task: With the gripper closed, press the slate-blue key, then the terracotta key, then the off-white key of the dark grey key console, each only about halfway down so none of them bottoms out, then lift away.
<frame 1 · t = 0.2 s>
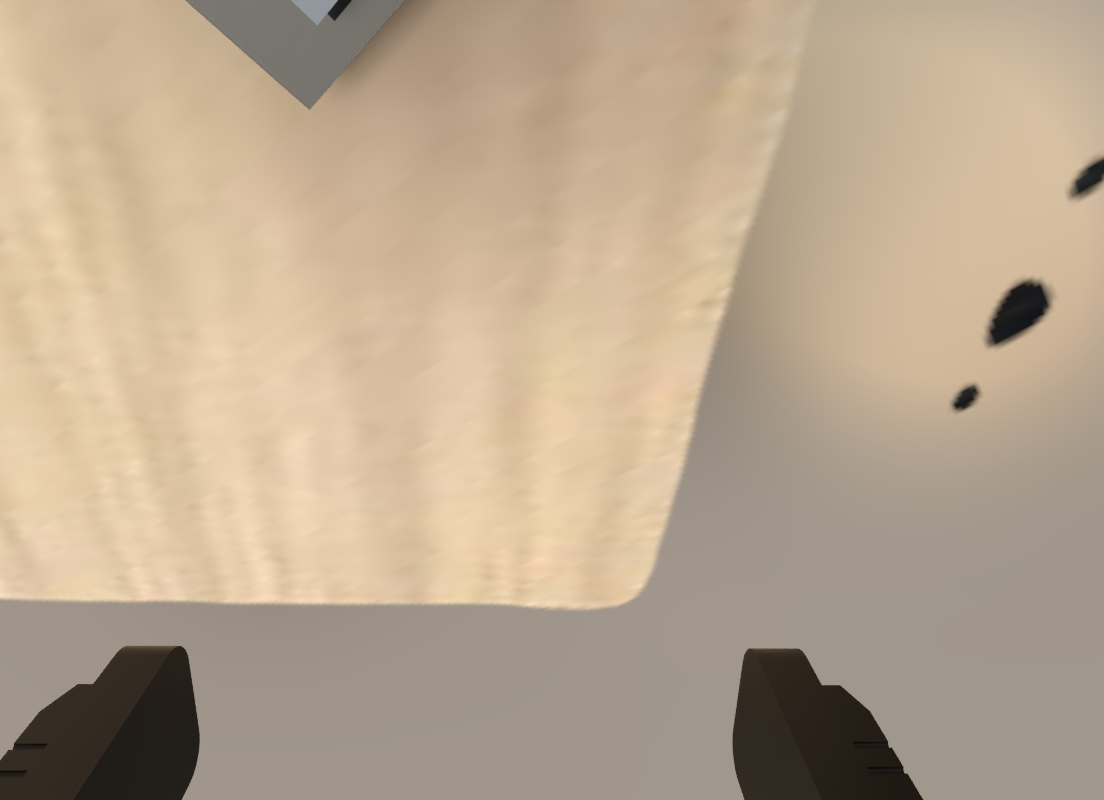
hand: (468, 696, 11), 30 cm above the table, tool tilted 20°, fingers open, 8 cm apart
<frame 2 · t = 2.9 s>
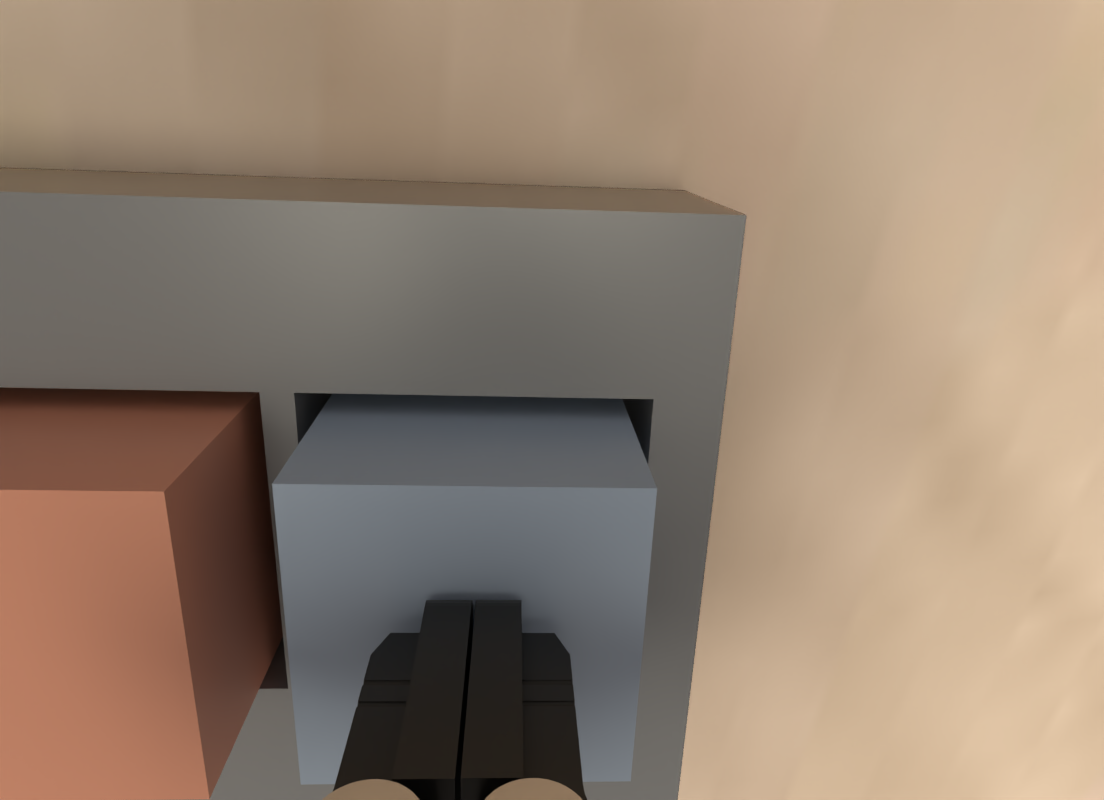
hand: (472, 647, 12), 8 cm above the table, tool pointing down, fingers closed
key terracotta: (75, 576, 14), point 6 cm above the table, slide at 0.0 cm
console: (202, 445, 19), on the table
key blue: (474, 570, 14), point 6 cm above the table, slide at 0.3 cm, touching gripper
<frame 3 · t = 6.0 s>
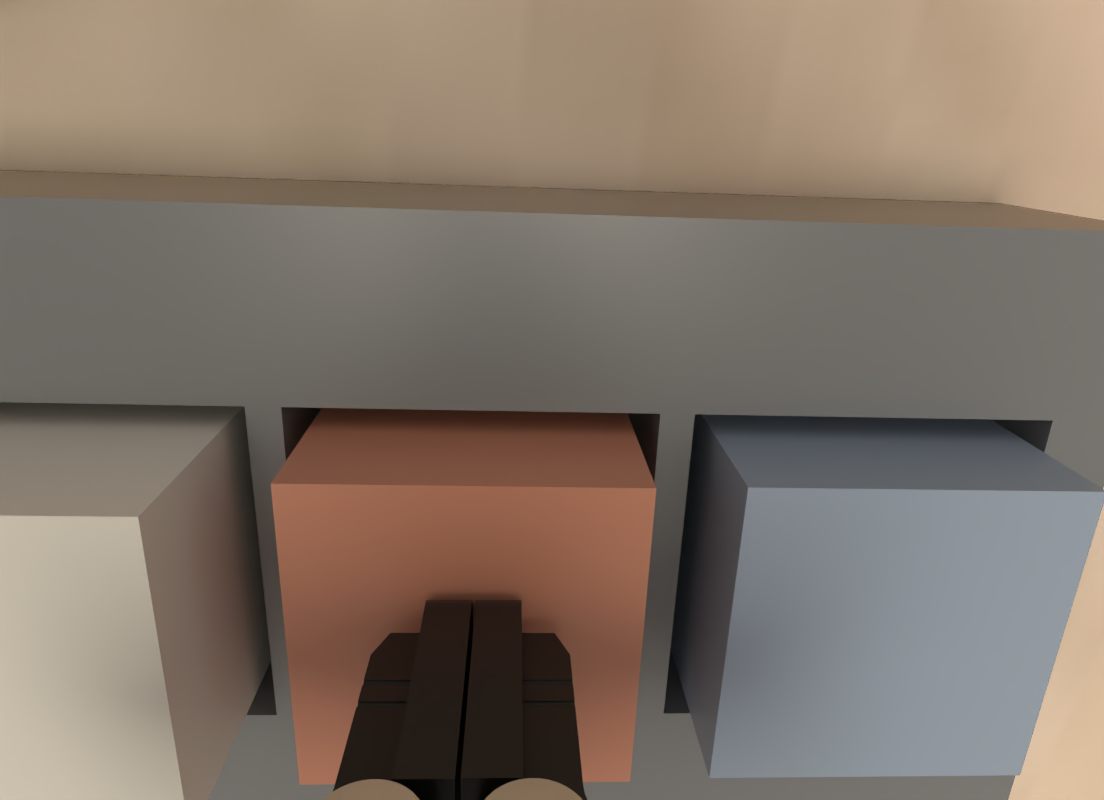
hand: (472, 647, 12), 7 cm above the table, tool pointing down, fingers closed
key terracotta: (473, 570, 14), point 5 cm above the table, slide at 1.0 cm, touching gripper
console: (483, 461, 19), on the table
key blue: (842, 570, 15), point 5 cm above the table, slide at 1.1 cm
key white: (50, 601, 13), point 6 cm above the table, slide at 0.0 cm
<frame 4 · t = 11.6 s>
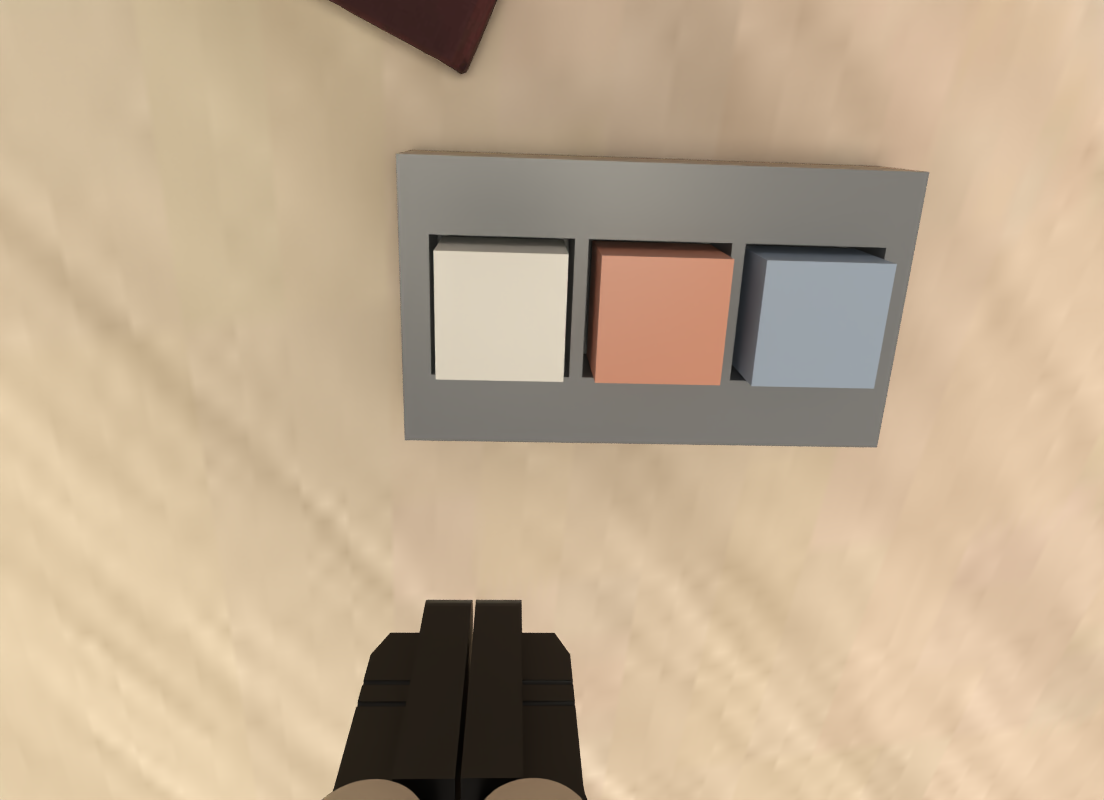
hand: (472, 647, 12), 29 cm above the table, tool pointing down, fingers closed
key terracotta: (654, 310, 35), point 5 cm above the table, slide at 1.1 cm
console: (638, 289, 40), on the table
key blue: (804, 314, 36), point 5 cm above the table, slide at 1.1 cm
key white: (501, 307, 35), point 5 cm above the table, slide at 1.2 cm
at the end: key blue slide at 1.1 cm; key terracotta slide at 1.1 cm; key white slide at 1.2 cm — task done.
